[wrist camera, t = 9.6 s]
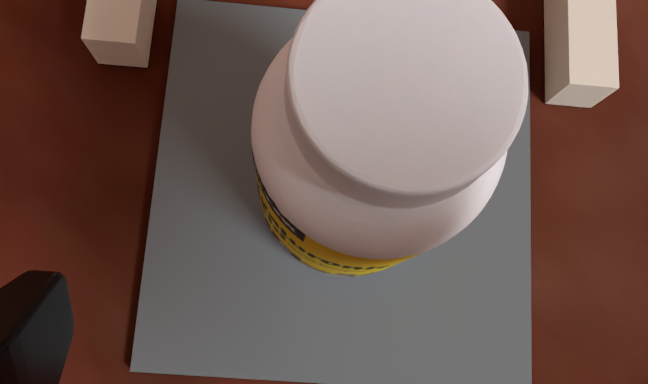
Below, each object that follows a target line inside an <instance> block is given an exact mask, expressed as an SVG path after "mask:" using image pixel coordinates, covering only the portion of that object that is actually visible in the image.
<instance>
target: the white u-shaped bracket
mask: <svg viewBox="0 0 648 384" xmlns="http://www.w3.org/2000/svg"><path fill="white" fill-rule="evenodd" d="M156 3H157V0H87V3H86V9H85V15H84V22H83V28H82V34H81V40H82V41H83V43H84V44H85V45H86V47H87V48H88V50H89V51H90V52H91V54H92V55H93V57H94V58H95V60H96V61H97V62H98V63H99V64H110V65H121V66H132V67H143V68H148V62H149V55H150V47H151V40H152V33H153V25H154V18H155V11H156ZM544 54H545V104H554V105H565V106H576V107H587V108H591V107H593V106H594V105H595V104H597V103H598V102H600V101H601V100H603V99H604V98H606V97H607V96H609V95H610V94H612V93H613V92H614V91H616V90H617V89H619V69H618V43H617V18H616V0H544Z"/></svg>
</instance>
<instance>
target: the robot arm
mask: <svg viewBox="0 0 648 384" xmlns="http://www.w3.org/2000/svg"><path fill="white" fill-rule="evenodd" d="M73 330H74V321H73V314H72V308H71V302H70V296H69V290H68V284H67V280H66V278H65V276H64V275H63V274H62V273H60V272H52V271H37V270H32V271H27V272H25V273H23V274H21V275H20V276H18V277H17V278H15V279H14V280H12V281H11V282H9V283H8V284H6V285H5V286H3V287H1V288H0V384H59V381H60V378H61V374H62V371H63V368H64V364H65V361H66V358H67V354H68V351H69V348H70V344H71V341H72V337H73Z"/></svg>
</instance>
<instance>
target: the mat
mask: <svg viewBox="0 0 648 384" xmlns="http://www.w3.org/2000/svg"><path fill="white" fill-rule="evenodd" d="M306 11H307V10H300V9H290V8H279V7H269V6H259V5H248V4H238V3H228V2H217V1H207V0H177V8H176V16H175V23H174V31H173V39H172V47H171V55H170V62H169V70H168V78H167V86H166V93H165V101H164V109H163V117H162V125H161V132H160V140H159V148H158V156H157V164H156V171H155V179H154V187H153V195H152V203H151V210H150V218H149V226H148V234H147V241H146V249H145V257H144V265H143V273H142V280H141V288H140V296H139V304H138V312H137V319H136V327H135V335H134V343H133V350H132V358H131V366H130V372H145V373H161V374H177V375H193V376H209V377H225V378H242V379H258V380H274V381H290V382H306V383H323V384H532V360H531V197H530V33H529V32H527V31H517V30H515V32H516V34H517V36H518V39H519V41H520V44H521V46H522V49H523V52H524V56H525V59H526V63H527V71H528V101H527V107H526V112H525V115H524V118H523V121H522V124H521V127H520V129H519V131H518V133H517V135H516V137H515V139H514V140H513V142H512V144H511V146H510V147H509V149H508V150H507V156H506V161H505V165H504V168H503V171H502V174H501V177H500V179H499V182H498V184H497V186H496V188H495V190H494V192H493V194H492V196H491V198H490V199H489V201H488V202H487V204H486V205H485V207H484V208H483V209H482V211H481V212H480V213H479V215H478V216H477V217H476V218H475V219H474V220H473V221H472V222H471V223H470V224H469V225H468V226H467V227H465V228H464V229H463V230H462V231H461V232H459V233H458V234H456V235H455V236H453V237H452V238H451V239H449V240H448V241H446V242H444V243H443V244H441V245H439V246H437V247H435V248H433V249H431V250H429V251H426V252H424V253H421V254H419V255H417V256H415V257H412V258H410V259H408V260H405V261H403V262H401V263H398V264H396V265H394V266H391V267H389V268H387V269H384V270H382V271H378V272H375V273H372V274H368V275H362V276H353V277H342V276H333V275H329V274H325V273H321V272H318V271H315V270H313V269H311V268H309V267H307V266H305V265H303V264H302V263H300V262H299V261H297V260H296V259H294V258H293V257H292V256H291V255H290V254H289V253H287V252H286V251H285V250H284V248H283V247H282V246H281V245H280V244H279V243H278V241H277V240H276V239H275V237H274V236H273V234H272V232H271V230H270V229H269V227H268V225H267V222H266V220H265V217H264V215H263V211H262V207H261V203H260V199H259V193H258V186H257V178H256V171H255V165H254V162H253V155H252V143H251V124H252V113H253V107H254V101H255V98H256V94H257V91H258V88H259V85H260V83H261V81H262V79H263V77H264V75H265V73H266V71H267V69H268V67H269V66H270V64H271V63H272V61H273V60H274V58H275V57H276V55H277V54H278V52H279V51H280V50H281V49H282V48H283V47H284V46H285V44H286V43H287V42H288V41H289V40H290V39H291V38H292V37H293V35H294V32H295V30H296V28H297V26H298V24H299V22H300V20H301V18H302V17H303V15H304V14H305V12H306Z"/></svg>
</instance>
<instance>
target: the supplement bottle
mask: <svg viewBox="0 0 648 384" xmlns="http://www.w3.org/2000/svg"><path fill="white" fill-rule="evenodd" d="M527 101H528V71H527V63H526V59H525V56H524V52H523V49H522V46H521V44H520V41H519V39H518V36H517V34H516V32H515V30H514V29H513V27H512V25H511V24H510V22H509V21H508V19H507V18H506V17H505V15H504V14H503V13H502V11H501V10H500V9H499V8H498V7H497V6H496V5H495V4H494V2H492V1H491V0H315V1H314V2H313V3H312V4H311V5H310V7H309V8H308V9H307V11H306V12H305V14H304V15H303V17H302V18H301V20H300V22H299V24H298V26H297V28H296V30H295V32H294V35H293V37H292V38H291V39H290V40H289V41H288V42H287V43H286V44H285V46H284V47H283V48H282V49H281V50H280V51H279V52H278V54H277V55H276V57H275V58H274V60H273V61H272V63H271V64H270V66H269V67H268V69H267V71H266V73H265V75H264V77H263V79H262V81H261V83H260V85H259V88H258V91H257V94H256V98H255V101H254V107H253V113H252V124H251V143H252V155H253V162H254V165H255V171H256V178H257V186H258V193H259V199H260V203H261V207H262V211H263V215H264V217H265V220H266V222H267V225H268V227H269V229H270V230H271V232H272V234H273V236H274V237H275V239H276V240H277V241H278V243H279V244H280V245H281V246H282V247H283V248H284V250H285V251H286V252H287V253H289V254H290V255H291V256H292V257H293V258H294V259H296V260H297V261H299V262H300V263H302V264H303V265H305V266H307V267H309V268H311V269H313V270H315V271H318V272H321V273H325V274H329V275H333V276H342V277H353V276H362V275H368V274H372V273H375V272H378V271H382V270H384V269H387V268H389V267H391V266H394V265H396V264H398V263H401V262H403V261H405V260H408V259H410V258H412V257H415V256H417V255H419V254H421V253H424V252H426V251H429V250H431V249H433V248H435V247H437V246H439V245H441V244H443V243H444V242H446V241H448V240H449V239H451V238H452V237H453V236H455V235H456V234H458V233H459V232H461V231H462V230H463V229H464V228H465V227H467V226H468V225H469V224H470V223H471V222H472V221H473V220H474V219H475V218H476V217H477V216H478V215H479V213H480V212H481V211H482V209H483V208H484V207H485V205H486V204H487V202H488V201H489V199H490V198H491V196H492V194H493V192H494V190H495V188H496V186H497V184H498V182H499V179H500V177H501V174H502V171H503V168H504V165H505V161H506V156H507V150H508V149H509V147H510V146H511V144H512V142H513V140H514V139H515V137H516V135H517V133H518V131H519V129H520V127H521V124H522V121H523V118H524V115H525V112H526V107H527Z"/></svg>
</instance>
